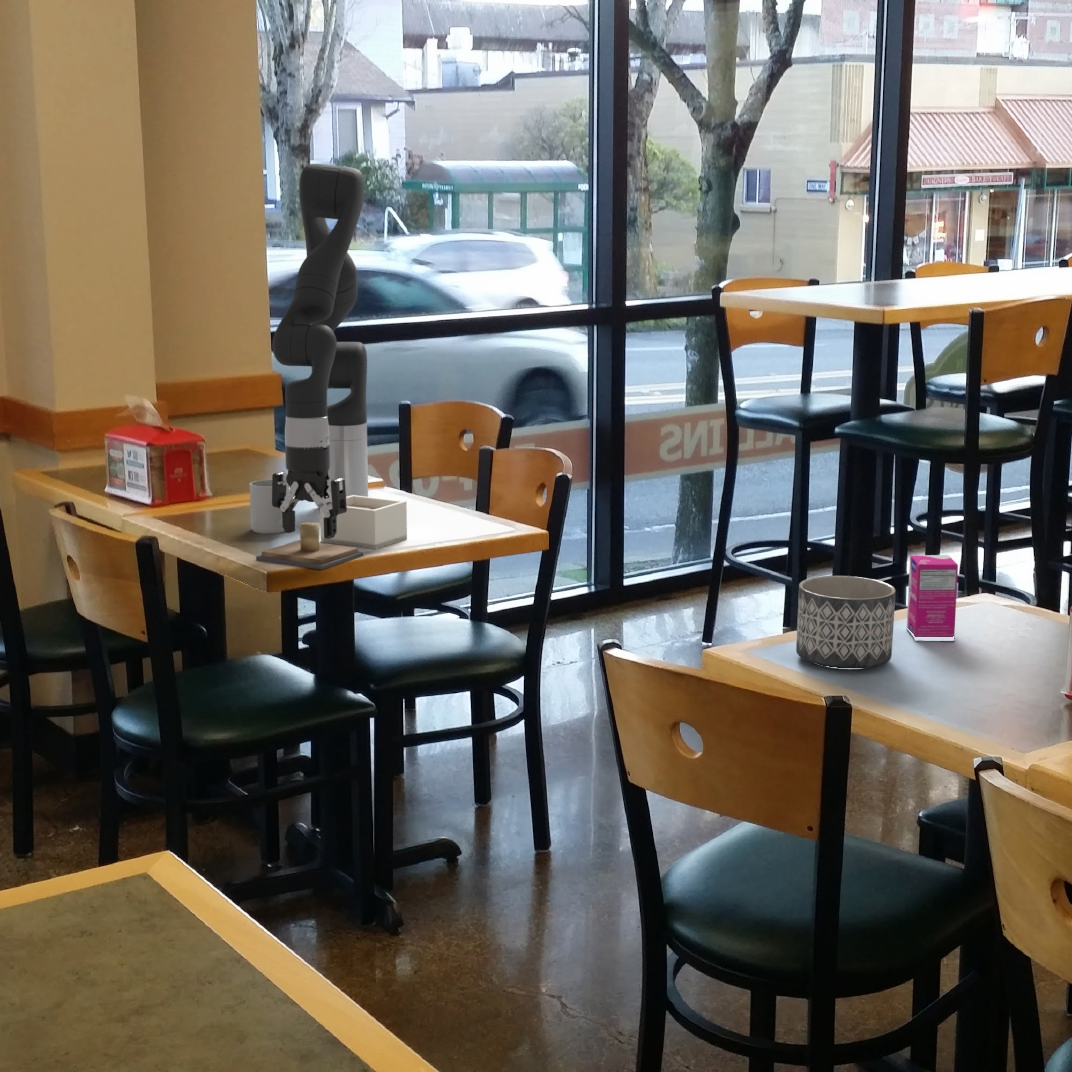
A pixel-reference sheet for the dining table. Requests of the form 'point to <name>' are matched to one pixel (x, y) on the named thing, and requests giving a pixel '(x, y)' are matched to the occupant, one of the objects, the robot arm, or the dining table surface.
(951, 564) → the supplement box
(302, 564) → the mat
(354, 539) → the tea box
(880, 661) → the planter
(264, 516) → the cup
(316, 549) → the lid
